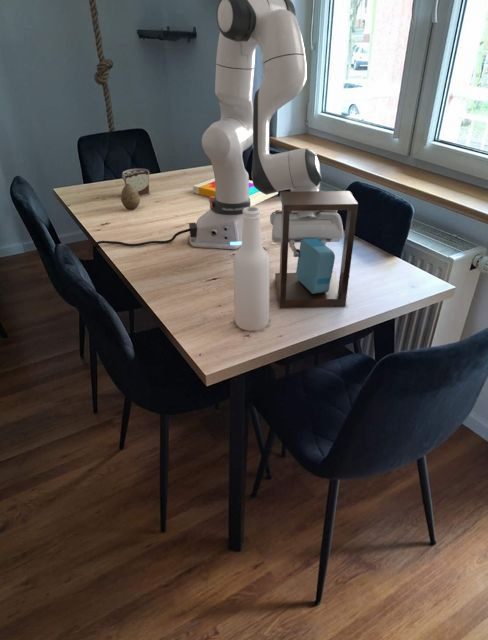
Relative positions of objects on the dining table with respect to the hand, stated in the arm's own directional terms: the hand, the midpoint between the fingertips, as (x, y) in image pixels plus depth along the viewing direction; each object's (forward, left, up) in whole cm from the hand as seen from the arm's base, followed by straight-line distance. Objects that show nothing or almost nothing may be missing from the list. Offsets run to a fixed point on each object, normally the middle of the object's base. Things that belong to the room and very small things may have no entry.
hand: (308, 256), depth 136 cm
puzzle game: (-22, +82, -10) cm, 86 cm away
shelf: (0, -4, -10) cm, 10 cm away
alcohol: (-17, -19, -10) cm, 27 cm away
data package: (+1, -4, -7) cm, 8 cm away
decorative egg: (-61, +67, -10) cm, 91 cm away
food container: (-62, +85, -10) cm, 106 cm away
